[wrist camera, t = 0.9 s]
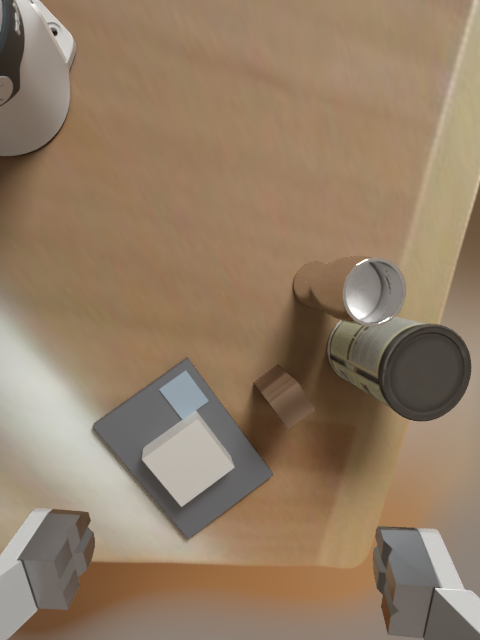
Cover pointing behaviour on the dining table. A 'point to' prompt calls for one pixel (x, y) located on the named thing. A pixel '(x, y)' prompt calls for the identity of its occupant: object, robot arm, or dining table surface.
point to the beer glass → (353, 289)
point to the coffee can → (403, 365)
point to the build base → (163, 417)
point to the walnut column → (284, 396)
